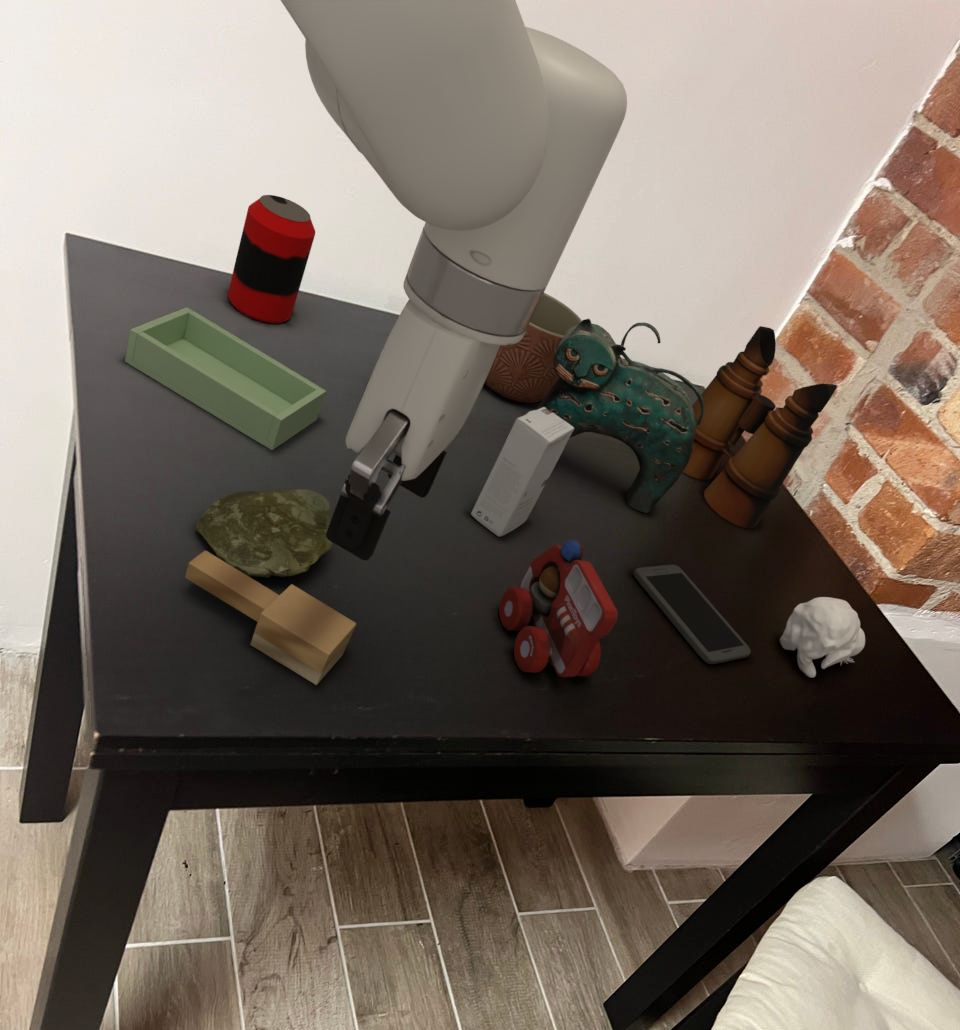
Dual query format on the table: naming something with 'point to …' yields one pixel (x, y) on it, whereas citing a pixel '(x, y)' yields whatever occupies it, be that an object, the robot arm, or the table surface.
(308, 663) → the brush
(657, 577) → the cell phone
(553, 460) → the cosmetic box
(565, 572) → the toy fire truck
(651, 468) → the ceramic cat
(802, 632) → the white frog figurine
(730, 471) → the binoculars
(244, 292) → the soda can
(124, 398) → the table surface
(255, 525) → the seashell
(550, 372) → the planter
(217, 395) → the bin
